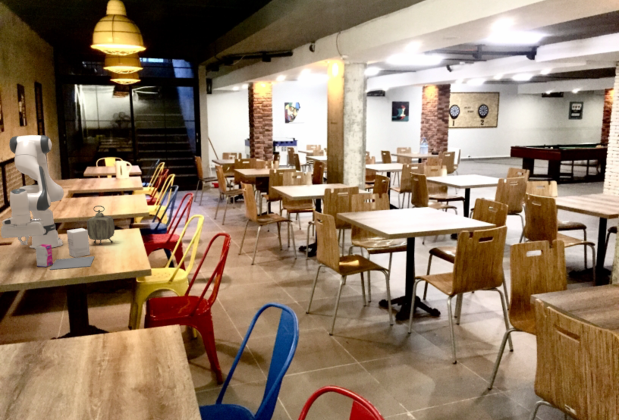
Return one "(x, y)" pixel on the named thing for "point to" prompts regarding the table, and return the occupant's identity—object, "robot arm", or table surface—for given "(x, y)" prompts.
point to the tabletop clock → (100, 227)
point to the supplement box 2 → (78, 242)
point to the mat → (72, 263)
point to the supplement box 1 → (44, 255)
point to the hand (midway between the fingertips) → (24, 244)
